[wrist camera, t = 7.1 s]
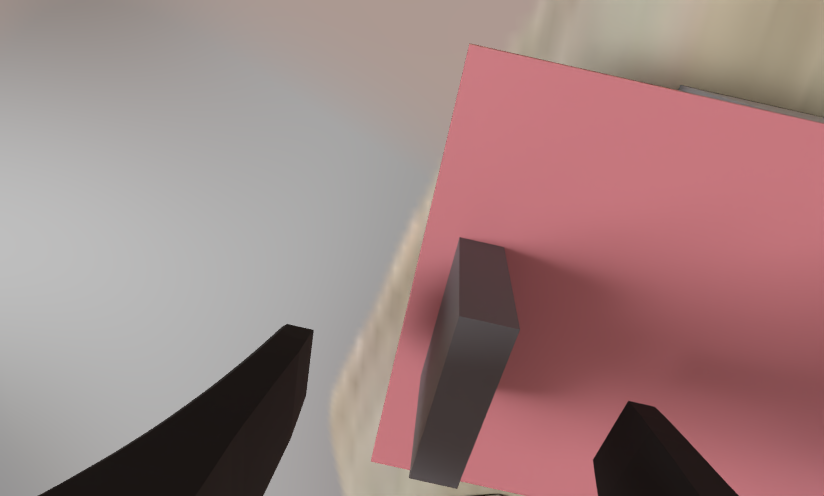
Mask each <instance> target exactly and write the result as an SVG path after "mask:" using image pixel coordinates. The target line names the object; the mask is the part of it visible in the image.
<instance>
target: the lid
mask: <svg viewBox="0 0 824 496" xmlns="http://www.w3.org/2000/svg"><path fill="white" fill-rule="evenodd" d="M628 401H632V402H636V403H641V404H645V405H649V406H654V407H656V408H657V409H658V410H659V411H660V412H661V413H662V414H663V415H664V416H665V417H666V418H667V419H668V420H669V421H670V422H671V423H672V424H673V425H674V426H675V427H676V429H677V430H678V431H679V432H680V433H681V434H682V435H683V436H684V437H685V438H686V439H687V440H688V441H689V442H690V444H691V445H692V446H693V447H694V448H695V449H696V450H697V451H698V452H699V453H700V454H701V455H702V457H703V458H704V459H705V460H706V461H707V462H708V463H709V464H710V465H711V466H712V467H713V469H714V470H715V471H716V472H717V473H718V474H719V475H720V476H721V477H722V478H723V479H724V480H725V481H726V483H727V484H728V485H729V486H730V487H731V488H732V489H733V490H734V491H735V492H736V493H737V494H738V495H739V496H824V123H821V122H816V121H812V120H807V119H803V118H798V117H794V116H790V115H785V114H781V113H776V112H772V111H767V110H763V109H759V108H754V107H750V106H745V105H741V104H736V103H732V102H728V101H723V100H719V99H714V98H710V97H705V96H701V95H696V94H692V93H688V92H683V91H679V90H674V89H670V88H665V87H661V86H657V85H652V84H648V83H643V82H639V81H634V80H630V79H625V78H621V77H617V76H612V75H608V74H603V73H599V72H594V71H590V70H586V69H581V68H577V67H572V66H568V65H563V64H559V63H554V62H550V61H546V60H541V59H537V58H532V57H528V56H523V55H519V54H515V53H510V52H506V51H501V50H497V49H492V48H488V47H483V46H479V45H474V44H469V48H468V52H467V57H466V61H465V65H464V69H463V73H462V77H461V82H460V86H459V91H458V94H457V99H456V103H455V107H454V111H453V115H452V120H451V124H450V128H449V132H448V137H447V141H446V145H445V149H444V153H443V158H442V162H441V166H440V170H439V175H438V179H437V183H436V187H435V192H434V196H433V200H432V204H431V208H430V213H429V217H428V221H427V225H426V230H425V234H424V238H423V242H422V246H421V251H420V255H419V259H418V263H417V268H416V272H415V276H414V280H413V284H412V289H411V293H410V297H409V301H408V306H407V310H406V314H405V318H404V322H403V327H402V331H401V335H400V339H399V344H398V348H397V352H396V356H395V361H394V365H393V369H392V373H391V377H390V382H389V386H388V390H387V394H386V399H385V403H384V407H383V411H382V415H381V420H380V424H379V428H378V432H377V437H376V441H375V445H374V449H373V454H372V459H371V462H376V463H380V464H385V465H389V466H394V467H398V468H403V469H408V470H410V475H409V478H411V479H415V480H420V481H424V482H429V483H434V484H438V485H443V486H447V487H452V488H456V489H457V487H458V485H459V482H460V481H462V482H466V483H471V484H475V485H480V486H484V487H489V488H493V489H498V490H503V491H507V492H512V493H516V494H521V495H525V496H598V493H597V487H596V480H595V473H594V465H593V459H594V457H595V455H596V454H597V452H598V450H599V449H600V447H601V445H602V444H603V442H604V440H605V439H606V437H607V435H608V434H609V432H610V430H611V429H612V427H613V425H614V424H615V422H616V420H617V419H618V417H619V415H620V414H621V412H622V410H623V409H624V407H625V405H626V404H627V402H628Z"/></svg>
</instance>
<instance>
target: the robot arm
mask: <svg viewBox="0 0 824 496" xmlns="http://www.w3.org/2000/svg"><path fill="white" fill-rule="evenodd" d="M312 339H313V330H311V329H306V328H302V327H297V326H293V325H289V324H286V325H285V326H283V327H282V328H281V329H279V330H278V331H277V332H276V333H275V334H274V335H273V336H272V337H270V338H269V339H268V340H267V341H266V342H265V343H264V344H263V345H261V346H260V347H259V348H258V349H257V350H256V351H255V352H254V353H252V354H251V355H250V356H249V357H247V358H246V359H245V360H244V361H243V362H242V363H240V364H239V365H238V366H237V367H235V368H234V369H233V370H232V371H230V372H229V373H228V374H227V375H225V376H224V377H223V378H222V379H220V380H219V381H218V382H217V383H215V384H214V385H213V386H211V387H210V388H209V389H208V390H206V391H205V392H204V393H202V394H201V395H199V396H198V397H197V398H195V399H194V400H192V401H191V402H190V403H188V404H187V405H186V406H184V407H183V408H181V409H180V410H179V411H177V412H176V413H175V414H173V415H172V416H170V417H169V418H167V419H166V420H164V421H163V422H161V423H160V424H159V425H157V426H155V427H154V428H153V429H151V430H149V431H148V432H147V433H145V434H143V435H142V436H141V437H139V438H137V439H135V440H134V441H132V442H131V443H129V444H128V445H126V446H124V447H123V448H121V449H119V450H118V451H116V452H115V453H113V454H111V455H110V456H108V457H106V458H104V459H103V460H101V461H100V462H97V463H96V464H94V465H92V466H91V467H89V468H87V469H85V470H84V471H82V472H80V473H78V474H77V475H75V476H73V477H71V478H70V479H68V480H66V481H64V482H63V483H61V484H59V485H57V486H55V487H53V488H52V489H50V490H48V491H46V492H44V493H43V494H41V495H38V496H263V495H264V493H265V491H266V489H267V487H268V484H269V482H270V480H271V478H272V476H273V474H274V472H275V470H276V468H277V466H278V464H279V461H280V460H281V457H282V455H283V453H284V451H285V449H286V447H287V445H288V443H289V441H290V438H291V436H292V433H293V430H294V428H295V425H296V422H297V419H298V417H299V414H300V411H301V407H302V405H303V402H304V399H305V397H306V390H307V382H308V373H309V364H310V356H311V348H312ZM593 465H594V473H595V480H596V487H597V493H598V496H739V495H738V494H737V493H736V492H735V491H734V490H733V489H732V488H731V487H730V486H729V485H728V484H727V483H726V481H725V480H724V479H723V478H722V477H721V476H720V475H719V474H718V473H717V472H716V471H715V470H714V469H713V467H712V466H711V465H710V464H709V463H708V462H707V461H706V460H705V459H704V458H703V457H702V455H701V454H700V453H699V452H698V451H697V450H696V449H695V448H694V447H693V446H692V445H691V444H690V442H689V441H688V440H687V439H686V438H685V437H684V436H683V435H682V434H681V433H680V432H679V431H678V430H677V429H676V427H675V426H674V425H673V424H672V423H671V422H670V421H669V420H668V419H667V418H666V417H665V416H664V415H663V414H662V413H661V412H660V411H659V410H658V409H657V408H656V407H654V406H649V405H645V404H641V403H636V402H632V401H628V402H627V404H626V405H625V407H624V409H623V410H622V412H621V414H620V415H619V417H618V419H617V420H616V422H615V424H614V425H613V427H612V429H611V430H610V432H609V434H608V435H607V437H606V439H605V440H604V442H603V444H602V445H601V447H600V449H599V450H598V452H597V454H596V455H595V457H594V459H593Z"/></svg>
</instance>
